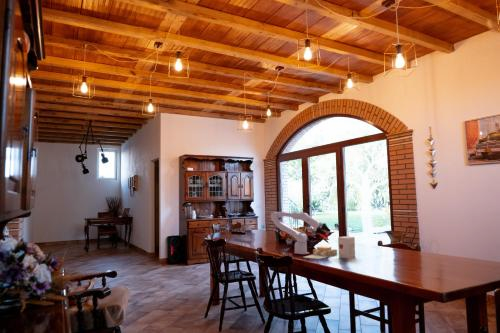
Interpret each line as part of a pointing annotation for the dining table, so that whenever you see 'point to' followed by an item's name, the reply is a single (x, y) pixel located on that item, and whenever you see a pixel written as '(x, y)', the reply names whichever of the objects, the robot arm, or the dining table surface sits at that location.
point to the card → (324, 248)
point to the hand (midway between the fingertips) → (327, 232)
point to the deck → (325, 252)
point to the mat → (315, 256)
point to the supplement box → (346, 247)
